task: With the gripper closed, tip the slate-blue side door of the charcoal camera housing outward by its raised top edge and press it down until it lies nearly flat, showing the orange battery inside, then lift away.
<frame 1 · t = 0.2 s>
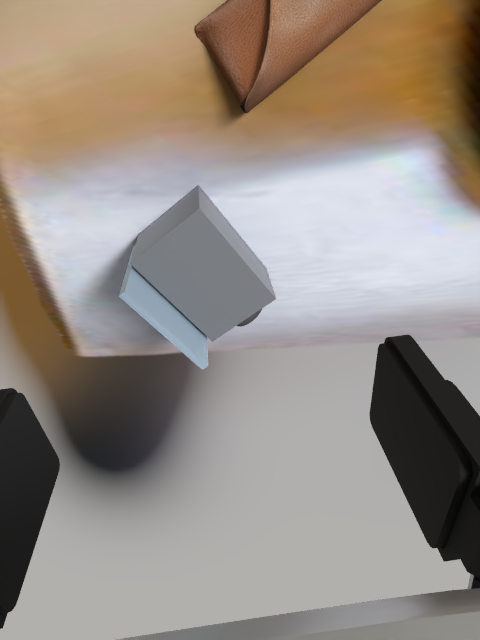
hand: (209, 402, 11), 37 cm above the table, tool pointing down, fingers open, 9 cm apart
sunglasses case: (295, 4, 36), on the table
camera housing: (204, 251, 48), on the table
side door: (169, 304, 44), point 6 cm above the table, hinge at 0.0°
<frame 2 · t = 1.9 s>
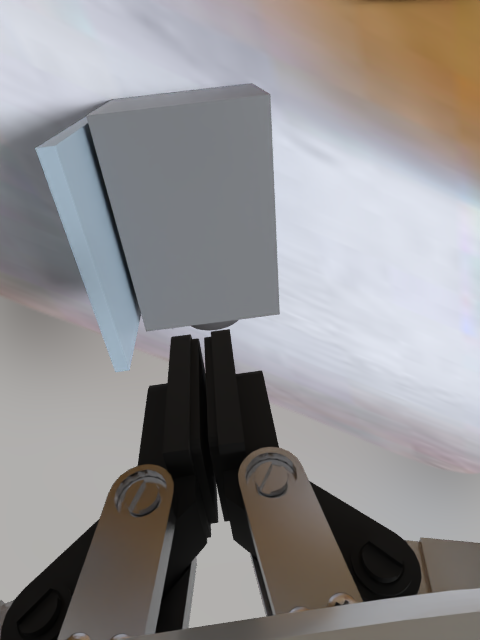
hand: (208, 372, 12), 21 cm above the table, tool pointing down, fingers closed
camera housing: (197, 193, 29), on the table
side door: (110, 235, 24), point 6 cm above the table, hinge at 0.0°
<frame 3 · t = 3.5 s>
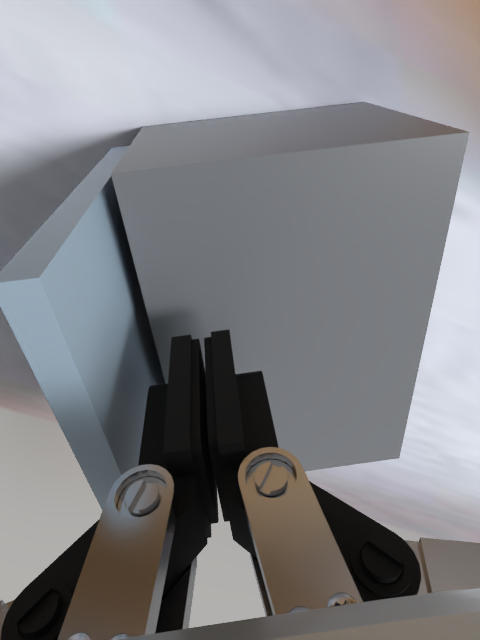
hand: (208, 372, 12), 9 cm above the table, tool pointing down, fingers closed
camera housing: (263, 261, 20), on the table
side door: (140, 355, 14), point 6 cm above the table, hinge at 0.7°, touching gripper
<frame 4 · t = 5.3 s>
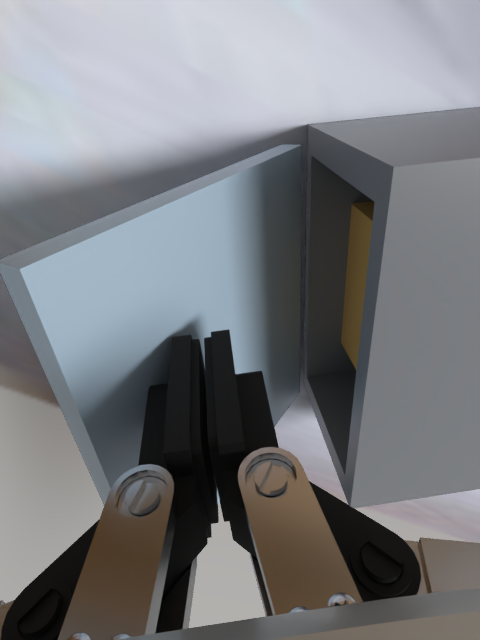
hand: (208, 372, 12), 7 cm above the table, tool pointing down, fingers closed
camera housing: (399, 267, 19), on the table
side door: (220, 357, 14), point 5 cm above the table, hinge at 39.9°, touching gripper
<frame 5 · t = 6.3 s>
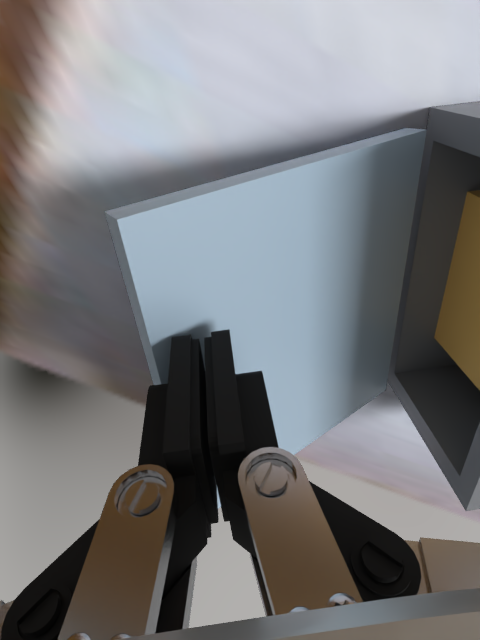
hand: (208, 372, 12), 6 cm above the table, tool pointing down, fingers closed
side door: (297, 333, 15), point 4 cm above the table, hinge at 60.3°, touching gripper
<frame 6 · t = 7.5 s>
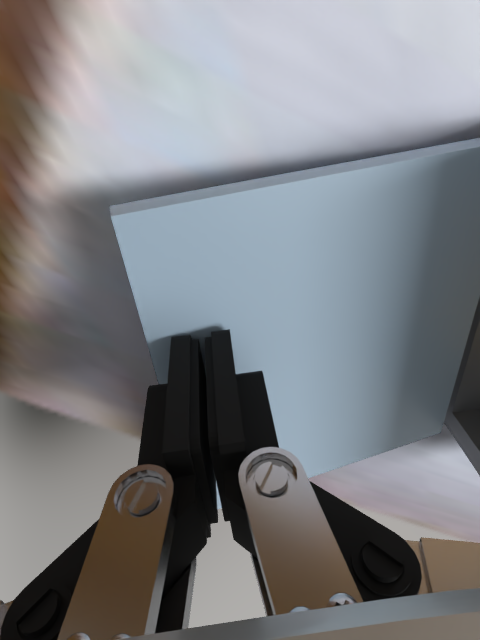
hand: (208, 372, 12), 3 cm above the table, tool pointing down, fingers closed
side door: (325, 353, 13), point 2 cm above the table, hinge at 78.4°, touching gripper
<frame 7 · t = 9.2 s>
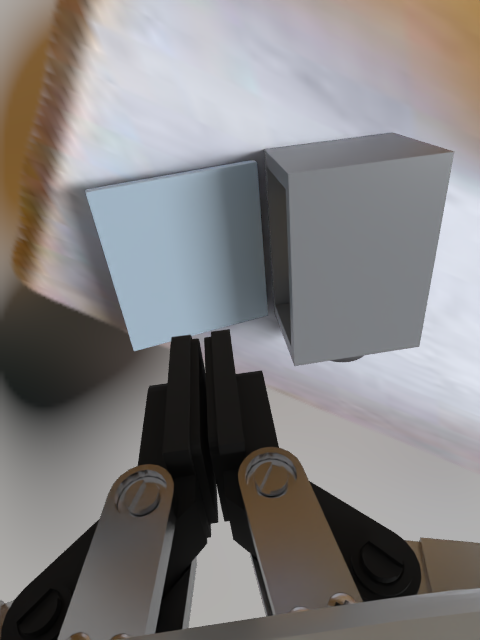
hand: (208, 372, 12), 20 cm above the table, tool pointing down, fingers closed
camera housing: (327, 231, 31), on the table
side door: (189, 261, 29), point 2 cm above the table, hinge at 78.4°
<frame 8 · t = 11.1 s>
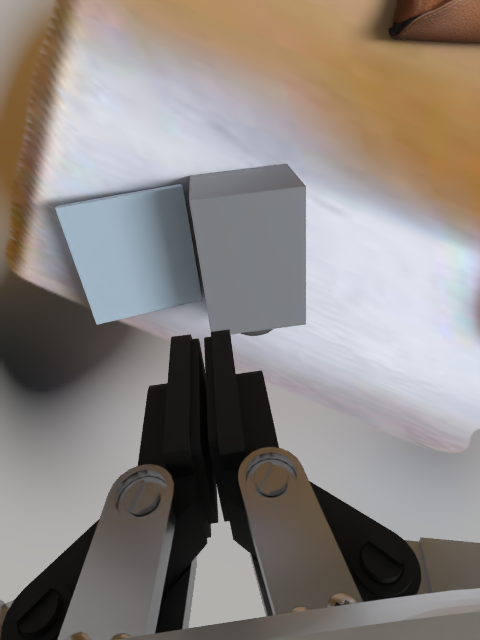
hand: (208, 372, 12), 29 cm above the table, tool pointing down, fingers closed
camera housing: (244, 236, 40), on the table
side door: (136, 257, 39), point 2 cm above the table, hinge at 78.4°
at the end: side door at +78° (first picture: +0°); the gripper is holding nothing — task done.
